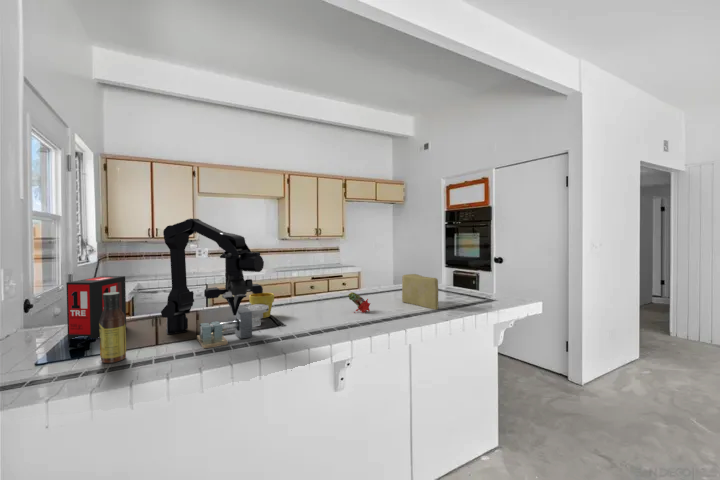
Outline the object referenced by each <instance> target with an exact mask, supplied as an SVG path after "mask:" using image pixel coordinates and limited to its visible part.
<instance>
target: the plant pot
mask: <svg viewBox="0 0 720 480" xmlns="http://www.w3.org/2000/svg"><path fill="white" fill-rule="evenodd" d="M248 297H249V299H248V300H249V304H250V305H255V304H264V305H267V306H269V310H268V311H267V312H264V313H263V318H262V319H266V318H269V317H271V311H272V307H273V303H275V294H274V293H273V292H263V293H259V294H254V293H252V294H249V296H248Z"/></svg>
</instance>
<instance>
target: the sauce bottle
mask: <svg viewBox="0 0 720 480" xmlns="http://www.w3.org/2000/svg"><path fill="white" fill-rule="evenodd" d="M119 298H120V293H119V292H110V293H104V294H103V300H104V310H103V312H102V315H101V318H100V321H99V332H100V338H99V353H100V354H99V355H100V360H101V362H102V363H103V364H104V363H105V364H111V363H112V364H113V363H114V364H115V363H117V362H121V361H123V360H125V358H126V357H127V354H126V353H127V333H126V329H127V327H125V315H124V313H123V312H122V311H121V309H120V308H119V307H120V305H119Z"/></svg>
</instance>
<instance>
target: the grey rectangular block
mask: <svg viewBox="0 0 720 480" xmlns="http://www.w3.org/2000/svg"><path fill="white" fill-rule="evenodd" d="M237 320H239V329H235V330H234V334H235V336H237V337H238V338H239V339H241V340H242V339H246V338H247V339H248V338H252V337H253V327H252V311H251V310H249V309H247V308H246V306H244V307H239V308H238V311H237V314H236V315H234V321H237Z"/></svg>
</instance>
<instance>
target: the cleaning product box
mask: <svg viewBox="0 0 720 480" xmlns="http://www.w3.org/2000/svg"><path fill="white" fill-rule="evenodd" d="M65 285H66V317H67V318H66V319H67V340H68V341H71V340H70V339H72V338H75V337H78V336H88V337H91V338H97V339H99V338H98V337H100V332H99V321H100V318H101V315H102V312H103V310H104V300H103V294H104V293H110V292H119V293H120V298H119V305H120V307H119V308H120V309H121V311H122V312H123V313H124V315H125V328H127V314H126V313H127V311H126V310H127V309H126V308H127V305H126V304H127V303H126V302H127V301H126V300H127V298H126V297H127V295H126V294H127V293H126V276H125V275H121V276H120V275H118V276H117V275H101V276H97V277H91V278H90V277H89V278H85V279H80V280H73V281H67V282H66V283H65Z"/></svg>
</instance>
